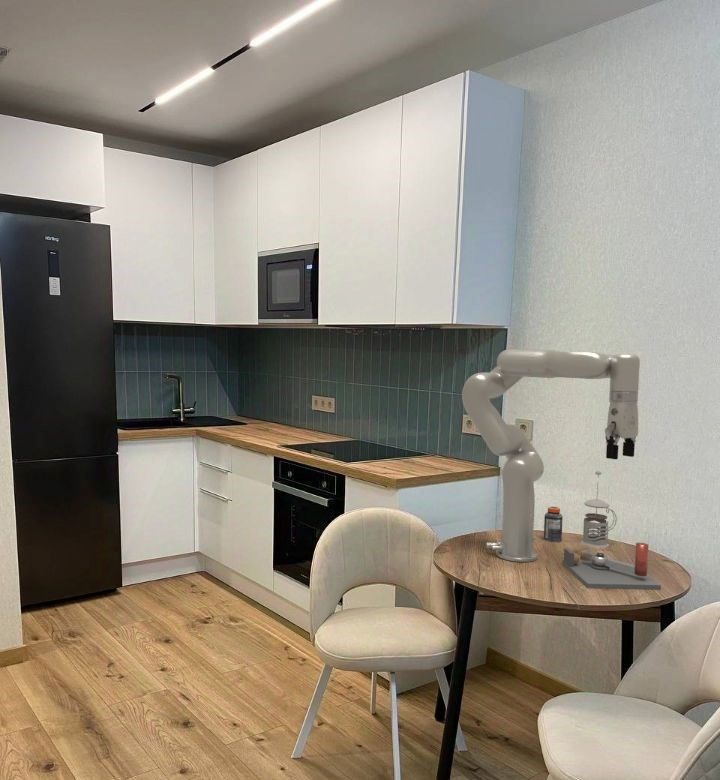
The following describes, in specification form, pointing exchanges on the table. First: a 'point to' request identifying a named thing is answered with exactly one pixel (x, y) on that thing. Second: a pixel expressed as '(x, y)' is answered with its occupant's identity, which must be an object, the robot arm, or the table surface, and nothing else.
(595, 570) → the base
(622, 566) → the lever
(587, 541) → the french press
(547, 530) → the pill bottle
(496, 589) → the table surface
